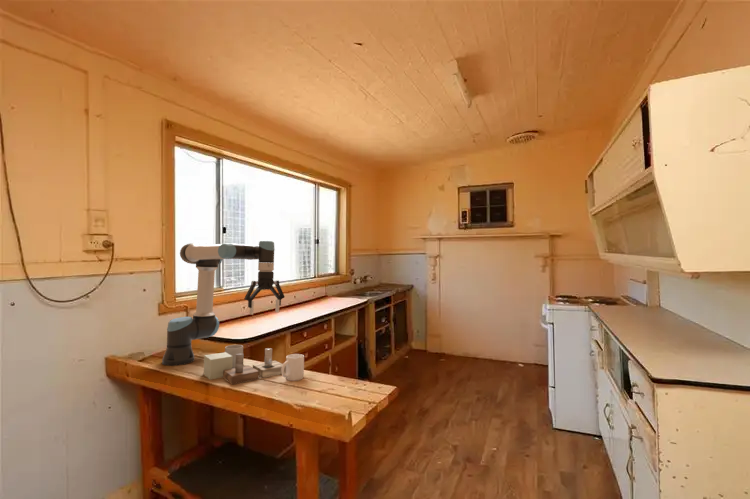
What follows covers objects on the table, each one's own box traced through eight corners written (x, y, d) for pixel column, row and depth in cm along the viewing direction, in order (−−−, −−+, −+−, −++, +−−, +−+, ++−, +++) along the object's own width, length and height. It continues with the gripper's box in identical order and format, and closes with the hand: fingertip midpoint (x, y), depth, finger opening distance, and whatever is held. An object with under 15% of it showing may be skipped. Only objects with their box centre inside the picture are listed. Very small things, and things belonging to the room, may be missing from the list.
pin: (263, 373, 167) (263, 348, 168) (269, 372, 170) (270, 347, 170) (266, 375, 165) (266, 350, 165) (272, 373, 167) (273, 349, 168)
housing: (203, 374, 165) (204, 355, 165) (224, 370, 172) (225, 352, 172) (209, 379, 158) (210, 359, 158) (232, 375, 164) (232, 356, 165)
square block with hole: (252, 371, 170) (252, 364, 170) (275, 367, 178) (275, 360, 178) (262, 377, 161) (263, 370, 161) (286, 372, 169) (286, 365, 169)
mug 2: (286, 384, 153) (287, 361, 153) (275, 380, 158) (275, 357, 158) (307, 377, 162) (307, 355, 163) (295, 374, 167) (296, 352, 168)
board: (223, 377, 160) (224, 352, 161) (248, 372, 168) (249, 349, 169) (232, 384, 152) (233, 358, 152) (258, 378, 160) (259, 353, 160)
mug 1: (231, 369, 174) (232, 349, 174) (219, 366, 178) (220, 346, 179) (249, 364, 183) (249, 345, 184) (237, 361, 188) (238, 343, 188)
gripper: (244, 271, 163) (242, 316, 162) (291, 271, 179) (290, 312, 178) (238, 270, 168) (236, 314, 167) (285, 271, 185) (283, 310, 184)
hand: (264, 313), depth 173 cm, fingers open, 13 cm apart
